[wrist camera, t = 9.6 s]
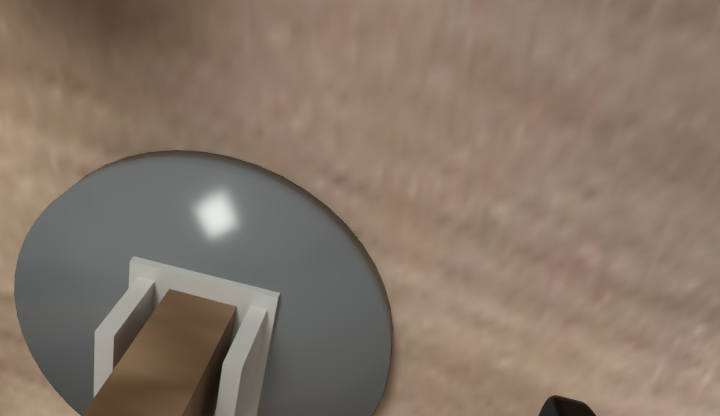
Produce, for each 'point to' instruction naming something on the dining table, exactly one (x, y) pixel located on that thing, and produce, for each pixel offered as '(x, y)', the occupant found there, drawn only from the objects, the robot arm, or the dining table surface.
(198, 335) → the brown wooden block
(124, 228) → the grey flat bracketed disc
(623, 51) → the dining table surface
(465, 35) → the dining table surface
